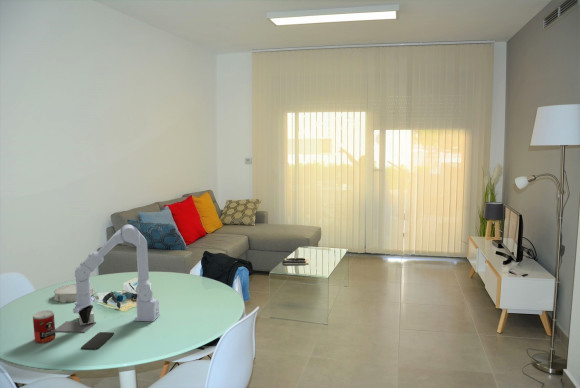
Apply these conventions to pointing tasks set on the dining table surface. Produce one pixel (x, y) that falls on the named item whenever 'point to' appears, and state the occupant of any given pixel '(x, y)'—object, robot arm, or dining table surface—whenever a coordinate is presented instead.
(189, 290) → the dining table surface
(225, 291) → the dining table surface
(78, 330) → the mat
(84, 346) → the phone
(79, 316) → the skincare box
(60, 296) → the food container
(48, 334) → the canned food
